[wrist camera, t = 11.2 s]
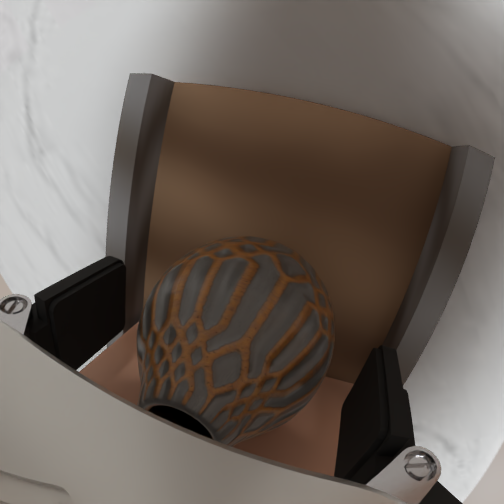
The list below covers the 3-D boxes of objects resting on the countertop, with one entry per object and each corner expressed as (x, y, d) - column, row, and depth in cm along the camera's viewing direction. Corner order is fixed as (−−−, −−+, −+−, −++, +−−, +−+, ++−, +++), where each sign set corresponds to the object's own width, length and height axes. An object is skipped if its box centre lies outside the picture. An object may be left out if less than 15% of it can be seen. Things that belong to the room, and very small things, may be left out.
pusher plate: (148, 310, 17) (56, 387, 10) (355, 381, 15) (349, 506, 8) (146, 333, 17) (63, 411, 10) (344, 401, 15) (331, 521, 8)
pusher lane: (160, 83, 14) (42, 52, 7) (469, 156, 11) (576, 163, 4) (131, 378, 20) (67, 446, 13) (335, 451, 17) (320, 547, 10)
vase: (228, 365, 16) (152, 491, 8) (173, 249, 15) (35, 333, 7) (354, 337, 14) (348, 500, 6) (306, 198, 13) (248, 267, 5)
